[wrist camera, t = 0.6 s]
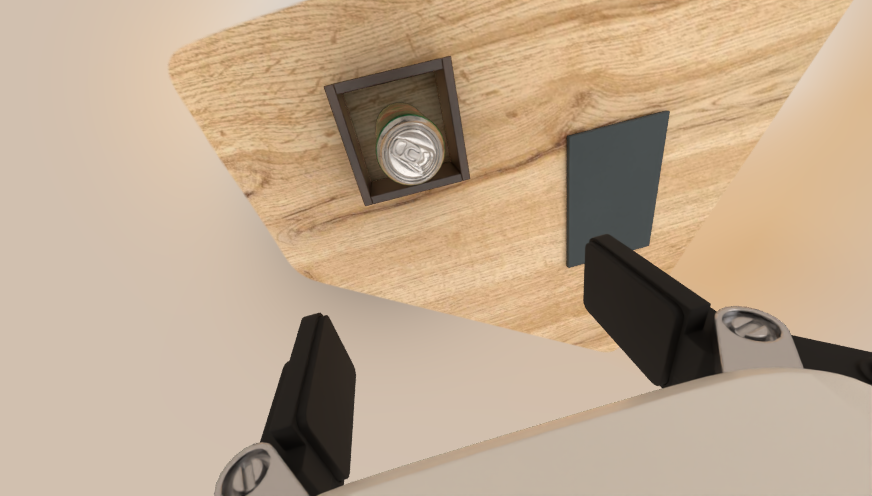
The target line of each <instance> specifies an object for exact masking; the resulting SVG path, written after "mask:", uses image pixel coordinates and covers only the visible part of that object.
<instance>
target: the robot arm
mask: <svg viewBox="0 0 872 496" xmlns="http://www.w3.org/2000/svg"><path fill="white" fill-rule="evenodd" d="M583 301H584V305H585V308H586V309H587V311H588V312H589V313H590V314H591V315H592V316H593V317H594V319H595V320H596V321H597V322H598V323H599V324H600V325H601V326H602V328H603V329H604V330H605V331H606V332H607V333H608V334H609V335H610V336H611V338H612V339H613V340H614V341H615V342H616V343H617V344H618V345H619V347H620V348H621V349H622V350H623V351H624V352H625V353H626V354H627V355H628V357H629V358H630V359H631V360H632V361H633V362H634V363H635V364H636V366H637V367H638V368H639V369H640V370H641V371H642V372H643V373H644V374H645V376H646V377H647V378H648V379H649V380H650V381H651V382H652V383H653V384H654V385H656V386H661V387H662V389H659V390H656V391H652V392H648V393H645V394H641V395H638V396H635V397H631V398H628V399H624V400H621V401H618V402H614V403H611V404H607V405H604V406H601V407H597V408H594V409H590V410H587V411H583V412H580V413H577V414H573V415H570V416H567V417H563V418H560V419H556V420H553V421H550V422H546V423H543V424H540V425H537V426H533V427H530V428H526V429H523V430H520V431H516V432H513V433H510V434H506V435H503V436H500V437H496V438H493V439H490V440H486V441H483V442H480V443H476V444H473V445H470V446H466V447H463V448H460V449H457V450H453V451H450V452H447V453H444V454H440V455H437V456H434V457H430V458H427V459H424V460H420V461H417V462H414V463H411V464H407V465H404V466H401V467H398V468H395V469H392V470H388V471H385V472H382V473H379V474H376V475H373V476H370V477H367V478H364V479H361V480H358V481H355V482H352V483H348V484H346V485H344V479H347V478H348V477H349V474H350V461H351V445H352V429H353V413H354V397H355V382H356V372H355V368H354V365H353V363H352V361H351V359H350V357H349V355H348V353H347V351H346V350H345V348H344V346H343V344H342V342H341V340H340V338H339V336H338V334H337V332H336V330H335V328H334V326H333V324H332V322H331V320H330V318H329V317H328V316H327V315H325V316H323V315H322V314H321V313H317V314H313V315H309V316H306V317H303V318H302V320H301V324H300V327H299V331H298V334H297V337H296V341H295V344H294V347H293V351H292V354H291V357H290V361H288V362H287V363H286V364H285V365H284V367H283V370H282V373H281V377H280V380H279V383H278V387H277V390H276V393H275V396H274V399H273V402H272V406H271V409H270V412H269V415H268V418H267V422H266V425H265V428H264V431H263V434H262V438H261V441H260V443H256V444H253V445H251V446H249V447H246V448H245V449H243V450H242V451H241V452H239V453H238V454H237V455H236V456H235V457H233V459H232V460H231V461H230V462H229V463H228V464H227V465H226V467H225V468H224V470H223V471H222V472H221V474H220V476H219V479H218V481H217V483H216V487H215V492H214V495H215V496H872V352H868V351H863V350H858V349H854V348H849V347H845V346H840V345H835V344H831V343H826V342H821V341H816V340H812V339H807V338H802V337H798V336H793V335H791V334H790V331H789V330H788V328H787V327H786V325H785V324H783V323H782V322H781V321H780V320H778V319H777V318H776V317H774V316H772V315H770V314H768V313H765V312H763V311H760V310H757V309H753V308H749V307H741V306H731V307H725V308H722V309H720V310H719V311H718V312H716V311H715V310H714V309H712V308H711V307H710V305H711V304H710V303H709V302H707V301H706V300H704V299H703V298H701V297H700V296H698V295H697V294H696V293H694V292H693V291H691V290H690V289H688V288H687V287H685V286H684V285H683V284H681V283H679V282H678V281H677V280H675V279H674V278H672V277H671V276H669V275H668V274H667V273H665V272H664V271H662V270H661V269H659V268H658V267H656V266H655V265H653V264H652V263H651V262H649V261H648V260H646V259H645V258H643V257H642V256H640V255H639V254H637V253H636V252H635V251H633V250H632V249H630V248H629V247H627V246H626V245H624V244H623V243H621V242H620V241H619V240H617V239H616V238H614V237H613V236H611V235H609V234H604V235H600V236H597V237H593V238H591V239H590V240H589V243H587V244H586V246H585V269H584V298H583Z"/></svg>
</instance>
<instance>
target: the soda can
mask: <svg viewBox="0 0 872 496" xmlns="http://www.w3.org/2000/svg"><path fill="white" fill-rule="evenodd" d="M375 133H376V156H377V160H378V163H379V165H380V167H381V169H382V170H383V172H384V173H385V174H386V175H387V176H388V177H389V178H390V179H392V180H393V181H395V182H397V183H400V184H404V185H417V184H421V183H424V182H426V181H428V180H429V179H431V178H432V177H433V176H434V175H435V174H436V173H437V172H438V171H439V169H440V167H441V165H442V163H443V160H444V156H445V144H444V140H443V137H442V134H441V132H440V131H439V129H438V128H437V127H436V125H435V124H434V123H433V122H431V121H430V120H429V119H428V118H427V117H425V116H424V115H423V114H422V113H421V112H420V111H418V110H417V109H416V108H415V107H413V106H411V105H409V104H406V103H393V104H391V105H388V106H387V107H385V108H384V109H383V110H382V111H381V113H380V114H379V116H378V118H377V121H376V126H375Z"/></svg>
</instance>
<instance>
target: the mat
mask: <svg viewBox="0 0 872 496" xmlns="http://www.w3.org/2000/svg"><path fill="white" fill-rule="evenodd" d="M669 113H670V111H663V112H659V113H655V114H651V115H647V116H643V117H639V118H635V119H632V120H628V121H624V122H620V123H616V124H612V125H608V126H604V127H600V128H596V129H593V130H589V131H585V132H581V133H577V134H573V135H569V136H567V267H568V268H570V267H574V266H577V265H581V264H585V246H586V244H587V243H589V240H590V239H591V238H593V237H597V236H600V235H604V234H609V235H611V236H613V237H614V238H616V239H617V240H619V241H620V242H621V243H623V244H624V245H626V246H627V247H629V248H630V249H632V250H635V249H639V248H643V247H646V246H649V243H650V236H651V230H652V223H653V217H654V210H655V204H656V197H657V191H658V184H659V178H660V171H661V165H662V158H663V152H664V145H665V139H666V132H667V126H668V119H669Z"/></svg>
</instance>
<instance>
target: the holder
mask: <svg viewBox="0 0 872 496" xmlns="http://www.w3.org/2000/svg"><path fill="white" fill-rule="evenodd" d="M433 71H434V73H435V78H436V84H437V89H438V94H439V100H440V105H441V111H442V116H443V122H444V127H445V132H446V138H447V143H448V149H449V154H450V160H451V162H446V163H442V165H441V167H440V169H439V171H438V172H437V173H436V174H435V175H434V176H433V177H432V178H431V179H429V180H428V181H426V182H424V183H421V184H417V185H404V184H400V183H397V182H395V181H393V180H392V179H390V178H389V177H388V178H384V179H380V180H376V181H372V182H371V180H370V177H369V174H368V171H367V167H366V164H365V161H364V158H363V155H362V152H361V149H360V146H359V143H358V140H357V136H356V133H355V130H354V127H353V124H352V121H351V118H350V115H349V112H348V109H347V105H346V102H345V99H344V96H343V93H346V92H350V91H354V90H358V89H363V88H367V87H371V86H375V85H379V84H383V83H387V82H391V81H396V80H400V79H404V78H408V77H412V76H416V75H420V74H424V73H428V72H433ZM324 89H325V92H326V95H327V98H328V101H329V104H330V106H331V109H332V112H333V115H334V118H335V121H336V124H337V127H338V130H339V132H340V135H341V138H342V141H343V144H344V147H345V150H346V153H347V156H348V158H349V161H350V164H351V167H352V170H353V173H354V176H355V179H356V181H357V184H358V187H359V190H360V193H361V196H362V199H363V202H364V205H365V206H368V205H372V204H376V203H380V202H384V201H387V200H391V199H395V198H399V197H403V196H407V195H411V194H414V193H418V192H422V191H426V190H430V189H434V188H438V187H441V186H445V185H449V184H453V183H457V182H461V181H464V180H468V179H470V174H469V168H468V162H467V155H466V149H465V143H464V136H463V130H462V124H461V117H460V111H459V105H458V98H457V92H456V85H455V79H454V73H453V66H452V60H451V56H447V57H443V58H439V59H435V60H430V61H426V62H422V63H418V64H414V65H410V66H406V67H401V68H397V69H393V70H389V71H385V72H381V73H377V74H372V75H368V76H364V77H360V78H356V79H352V80H348V81H343V82H339V83H335V84H331V85H327V86H324Z"/></svg>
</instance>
